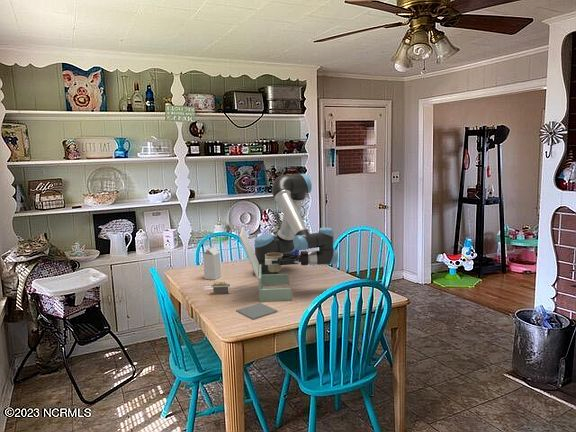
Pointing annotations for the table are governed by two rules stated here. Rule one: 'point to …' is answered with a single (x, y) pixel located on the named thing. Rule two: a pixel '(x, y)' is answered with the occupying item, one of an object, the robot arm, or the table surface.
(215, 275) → the milk carton
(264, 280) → the cold frame
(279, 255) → the flower pot
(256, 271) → the frame lid
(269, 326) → the table surface
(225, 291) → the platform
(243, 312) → the mat
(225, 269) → the table surface
